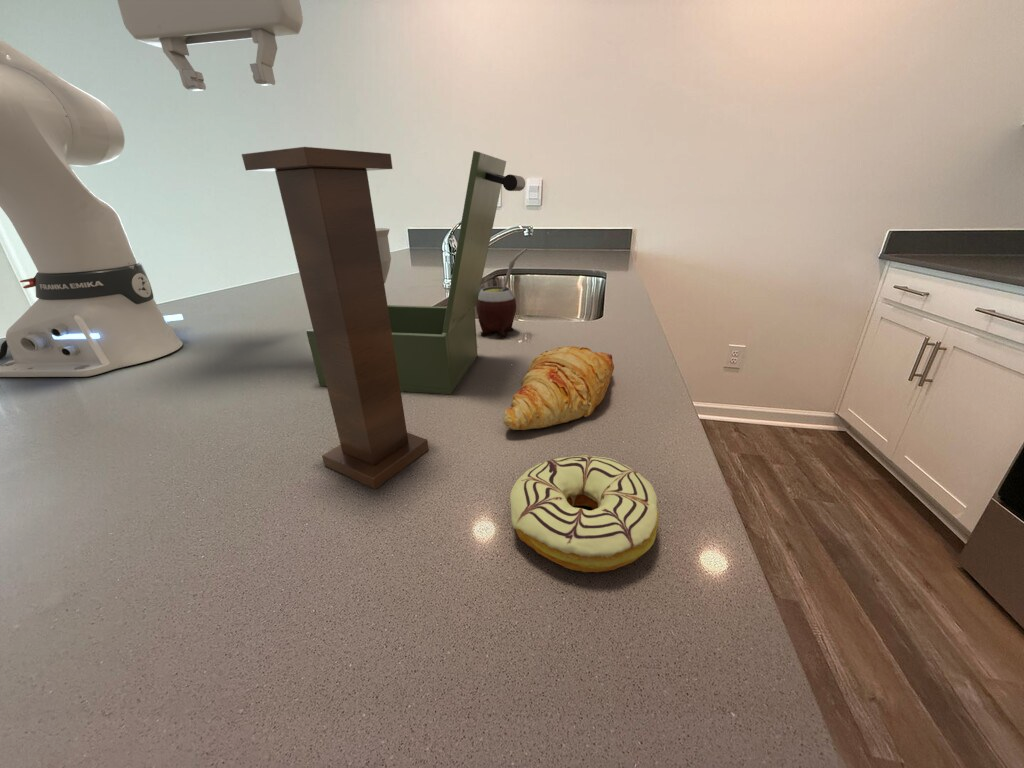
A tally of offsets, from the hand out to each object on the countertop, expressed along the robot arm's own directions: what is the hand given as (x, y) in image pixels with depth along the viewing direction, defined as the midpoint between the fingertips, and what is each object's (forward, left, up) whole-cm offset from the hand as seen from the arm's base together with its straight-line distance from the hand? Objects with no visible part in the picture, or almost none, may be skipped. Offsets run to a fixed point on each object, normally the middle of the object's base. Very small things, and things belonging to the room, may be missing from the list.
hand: (230, 87), depth 48 cm
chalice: (+11, +13, -35) cm, 39 cm away
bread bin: (+16, -6, -35) cm, 39 cm away
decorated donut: (+32, -40, -35) cm, 62 cm away
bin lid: (+27, -10, -17) cm, 33 cm away
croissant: (+36, -20, -35) cm, 54 cm away
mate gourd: (+32, +8, -35) cm, 48 cm away
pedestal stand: (+15, -28, -35) cm, 47 cm away
